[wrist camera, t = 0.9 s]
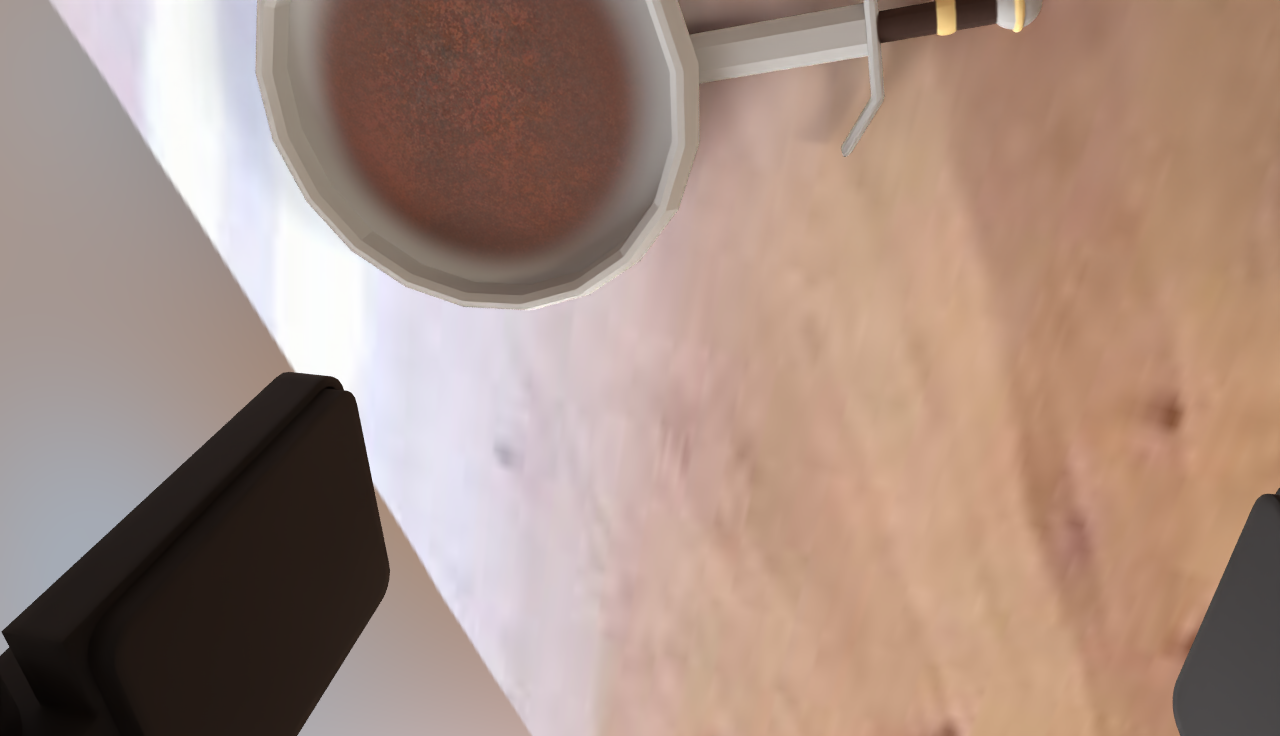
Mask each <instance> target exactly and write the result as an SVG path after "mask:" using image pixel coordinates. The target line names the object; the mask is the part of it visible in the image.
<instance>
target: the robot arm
mask: <svg viewBox="0 0 1280 736" xmlns="http://www.w3.org/2000/svg"><path fill="white" fill-rule="evenodd" d="M389 575H390V568H389V561H388V557H387V552H386V547H385V542H384V537H383V532H382V527H381V522H380V517H379V512H378V507H377V502H376V497H375V492H374V487H373V482H372V477H371V472H370V467H369V462H368V457H367V452H366V447H365V442H364V437H363V432H362V427H361V422H360V417H359V412H358V407H357V403H356V400H355V397H354V396H353V394H352V393H351V392H349V391H344V389H343V386H342V384H341V383H340V382H339V380H338V379H336V378H334V377H331V376H322V375H313V374H303V373H294V372H286V373H282V374H281V375H279V376H278V377H276V378H275V379H274V380H273V381H272V382H271V383H270V384H269V385H268V386H267V387H265V388H264V389H263V390H262V391H261V392H260V393H259V394H258V395H257V396H256V397H255V398H254V399H253V400H251V401H250V402H249V403H248V404H247V405H246V406H245V407H244V408H243V409H242V410H241V411H240V412H238V413H237V414H236V415H235V416H234V417H233V418H232V419H231V420H230V421H229V422H228V423H227V424H225V426H223V427H222V428H221V429H220V430H219V431H218V432H217V433H216V434H215V435H214V436H212V437H211V438H210V439H209V440H208V441H207V442H206V443H205V444H204V445H203V446H202V447H201V448H200V449H198V450H197V451H196V452H195V453H194V454H193V455H192V456H191V457H190V458H189V459H188V460H187V461H186V462H184V463H183V464H182V465H181V466H180V467H179V468H178V469H177V470H176V471H175V472H174V473H173V474H171V475H170V476H169V477H168V478H167V479H166V480H165V481H164V482H163V483H162V484H161V485H160V486H159V487H157V488H156V489H155V490H154V491H153V492H152V493H151V494H150V495H149V496H148V497H147V498H146V499H144V500H143V501H142V502H141V503H140V504H139V505H138V506H137V507H136V508H135V509H134V510H132V512H130V513H129V514H128V515H127V516H126V517H125V518H124V519H123V520H122V521H121V522H120V523H118V524H117V525H116V526H115V527H114V528H113V529H112V530H111V531H110V532H109V533H108V534H107V535H105V536H104V537H103V538H102V539H101V540H100V541H99V542H98V543H97V544H96V545H95V546H94V547H92V548H91V549H90V550H89V551H88V552H87V553H86V554H85V555H84V556H83V557H82V558H81V559H80V560H79V561H77V562H76V563H75V564H74V565H73V566H72V567H71V568H70V569H69V570H68V571H67V572H65V573H64V574H63V575H62V576H61V577H60V578H59V579H58V580H57V581H56V582H55V583H54V584H52V585H51V586H50V587H49V588H48V589H47V590H46V591H45V592H44V593H43V594H42V595H41V596H39V597H38V598H37V599H36V600H35V601H34V602H33V603H32V604H31V605H30V606H29V607H28V608H27V609H25V610H24V611H23V612H22V613H21V614H20V615H19V616H18V617H17V618H16V619H15V620H14V621H12V622H11V623H10V624H9V625H8V626H7V627H6V628H5V629H4V630H3V631H2V634H3V635H4V637H5V639H6V641H7V643H8V645H9V648H8V649H7V650H6V651H5V652H4V653H3V654H2V655H1V656H0V736H297V735H298V734H299V732H300V730H301V729H302V727H303V726H304V724H305V722H306V720H307V719H308V717H309V716H310V714H311V713H312V711H313V710H314V708H315V706H316V705H317V703H318V702H319V700H320V698H321V697H322V695H323V694H324V692H325V690H326V689H327V687H328V686H329V684H330V682H331V680H332V679H333V678H334V676H335V674H336V673H337V671H338V670H339V668H340V666H341V665H342V663H343V662H344V660H345V658H346V657H347V655H348V654H349V652H350V650H351V649H352V647H353V645H354V644H355V642H356V641H357V639H358V638H359V636H360V634H361V633H362V631H363V629H364V628H365V626H366V625H367V623H368V622H369V620H370V618H371V617H372V615H373V614H374V612H375V610H376V609H377V607H378V606H379V604H380V602H381V601H382V599H383V597H384V595H385V593H386V590H387V587H388V582H389ZM1173 712H1174V718H1175V721H1176V725H1177V728H1178V730H1179V733H1180V736H1280V488H1279V489H1278V491H1277V492H1276V494H1264V495H1262V496H1260V497H1259V498H1258V499H1257V500H1256V502H1255V504H1254V506H1253V508H1252V510H1251V512H1250V514H1249V517H1248V519H1247V521H1246V524H1245V526H1244V528H1243V530H1242V533H1241V535H1240V537H1239V539H1238V542H1237V544H1236V546H1235V549H1234V551H1233V553H1232V555H1231V558H1230V560H1229V562H1228V565H1227V567H1226V569H1225V571H1224V574H1223V576H1222V578H1221V581H1220V583H1219V585H1218V587H1217V590H1216V592H1215V594H1214V596H1213V599H1212V601H1211V603H1210V606H1209V608H1208V610H1207V612H1206V615H1205V617H1204V619H1203V622H1202V624H1201V626H1200V628H1199V631H1198V633H1197V635H1196V638H1195V640H1194V642H1193V644H1192V647H1191V649H1190V651H1189V654H1188V656H1187V658H1186V660H1185V663H1184V665H1183V667H1182V669H1181V672H1180V674H1179V676H1178V679H1177V681H1176V684H1175V687H1174V692H1173Z"/></svg>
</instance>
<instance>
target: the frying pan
mask: <svg viewBox="0 0 1280 736" xmlns="http://www.w3.org/2000/svg"><path fill="white" fill-rule="evenodd" d="M1042 2H1043V0H935V1H934V2H929V3H924V4H918V5H912V6H907V7H901V8H896V9H890V10H884V11H879V12H878V0H864V3H861V4H856V5H850V6H845V7H839V8H834V9H828V10H823V11H817V12H812V13H806V14H801V15H795V16H790V17H784V18H779V19H773V20H768V21H762V22H757V23H751V24H746V25H740V26H735V27H729V28H724V29H718V30H713V31H707V32H702V33H696V34H691V35H689V33H688V30H687V27H686V24H685V21H684V17H683V14H682V11H681V8H680V5H679V2H678V0H258V1H257V30H256V76H257V80H258V84H259V88H260V92H261V96H262V100H263V104H264V108H265V111H266V115H267V119H268V123H269V127H270V131H271V135H272V139H273V142H274V143H275V145H276V147H277V149H278V151H279V152H280V154H281V156H282V158H283V160H284V162H285V163H286V165H287V167H288V169H289V171H290V172H291V174H292V176H293V178H294V180H295V182H296V183H297V185H298V187H299V189H300V191H301V193H302V194H303V196H304V198H305V200H306V202H307V203H308V204H309V205H310V206H311V207H312V208H313V209H314V210H315V211H316V212H317V214H318V215H319V216H320V217H321V218H322V219H323V220H324V221H325V222H326V223H327V224H328V226H329V227H330V228H331V229H332V230H333V231H334V232H335V233H336V234H337V235H338V236H339V238H340V239H341V240H342V241H343V242H344V243H345V244H346V245H347V246H348V247H349V249H350V250H351V251H353V252H354V253H356V254H357V255H359V256H360V257H362V258H363V259H365V260H366V261H368V262H369V263H371V264H372V265H374V266H375V267H377V268H378V269H380V270H381V271H383V272H384V273H386V274H387V275H389V276H390V277H392V278H393V279H395V280H396V281H398V282H399V283H401V284H402V285H404V286H405V287H408V288H411V289H414V290H416V291H419V292H422V293H425V294H428V295H431V296H434V297H437V298H440V299H443V300H445V301H448V302H451V303H454V304H457V305H460V306H463V307H477V308H497V309H516V310H534V309H538V308H542V307H546V306H549V305H553V304H557V303H561V302H565V301H568V300H572V299H576V298H580V297H584V296H587V295H590V294H592V293H593V292H595V291H596V290H598V289H599V288H601V287H602V286H604V285H605V284H606V283H608V282H609V281H611V280H612V279H614V278H615V277H617V276H618V275H620V274H621V273H623V272H624V271H626V270H627V269H629V268H630V267H632V266H633V265H635V264H636V263H638V262H639V261H640V260H641V259H642V258H643V256H644V255H645V254H646V252H647V251H648V250H649V248H650V247H651V246H652V244H653V243H654V242H655V240H656V239H657V237H658V236H659V235H660V233H661V232H662V231H663V229H664V228H665V227H666V225H667V224H668V223H669V221H670V220H671V219H672V217H673V216H674V215H675V213H676V212H677V210H678V209H679V206H680V203H681V200H682V197H683V193H684V190H685V187H686V184H687V181H688V177H689V174H690V171H691V168H692V165H693V161H694V158H695V155H696V152H697V149H698V145H699V142H700V127H699V84H701V83H707V82H713V81H719V80H725V79H731V78H737V77H743V76H749V75H755V74H762V73H768V72H774V71H780V70H786V69H792V68H798V67H804V66H810V65H816V64H822V63H828V62H834V61H840V60H846V59H852V58H858V57H864V56H868V61H869V74H870V87H871V98H870V99H869V101H868V103H867V104H866V106H865V108H864V109H863V111H862V113H861V114H860V116H859V118H858V119H857V121H856V123H855V124H854V126H853V128H852V129H851V131H850V133H849V134H848V136H847V138H846V139H845V141H844V143H843V144H842V147H841V151H842V153H843V156H844V157H847V156H848V155H849V154H851V153H852V151H853V149H854V148H855V146H856V145H857V143H858V141H859V140H860V138H861V136H862V135H863V133H864V132H865V130H866V128H867V127H868V125H869V123H870V122H871V120H872V118H873V117H874V115H875V114H876V112H877V110H878V109H879V107H880V105H881V104H882V102H883V100H884V96H885V95H884V81H883V67H882V53H881V43H884V42H890V41H896V40H902V39H908V38H913V37H919V36H925V35H931V34H937V35H942V36H943V35H949V34H952V33H954V32H955V31H957V30H961V29H967V28H973V27H979V26H985V25H991V24H996V23H997V24H998V25H999V26H1001V27H1003V28H1006V29H1012V30H1013V31H1014V32H1020V31H1021V30H1022V29H1023V27H1025V26H1027V25H1029V24H1030V23H1031V22H1032V21H1033V20H1034V19H1035V18H1036V17H1037V16H1038V14H1039V12H1040V10H1041V7H1042Z"/></svg>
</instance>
